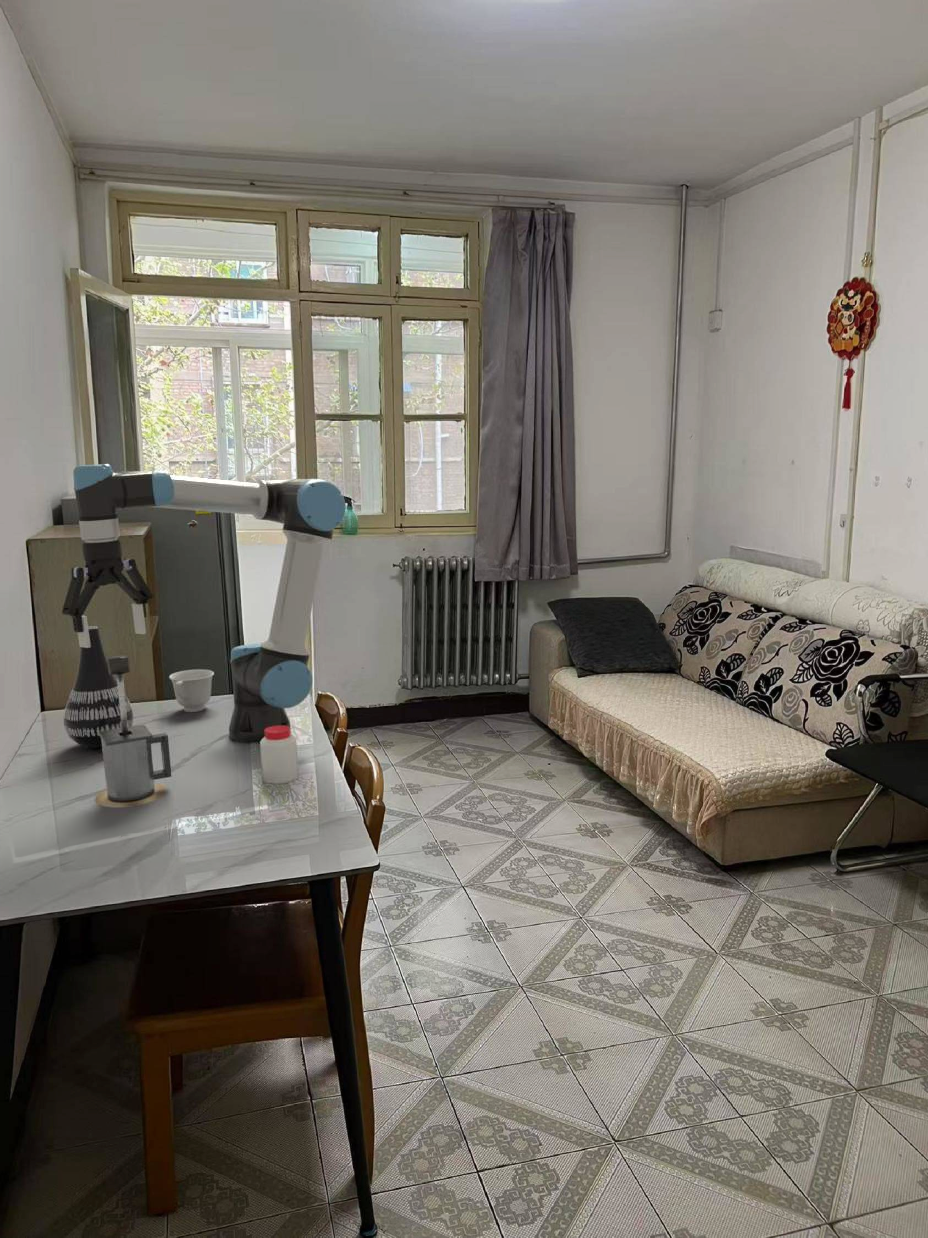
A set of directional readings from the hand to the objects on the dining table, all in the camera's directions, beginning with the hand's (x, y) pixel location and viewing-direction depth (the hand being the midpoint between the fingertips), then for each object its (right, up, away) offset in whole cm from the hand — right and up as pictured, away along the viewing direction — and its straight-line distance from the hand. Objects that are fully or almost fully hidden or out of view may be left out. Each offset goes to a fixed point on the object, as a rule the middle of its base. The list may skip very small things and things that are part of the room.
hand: (113, 640), depth 195 cm
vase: (-15, -27, +31) cm, 44 cm away
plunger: (+5, -22, -6) cm, 24 cm away
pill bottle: (+34, -30, +6) cm, 46 cm away
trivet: (+5, -33, -4) cm, 33 cm away
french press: (+7, -32, -3) cm, 32 cm away
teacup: (-1, -21, +60) cm, 64 cm away
